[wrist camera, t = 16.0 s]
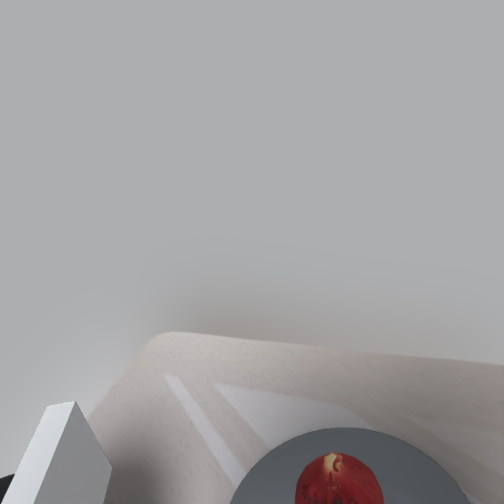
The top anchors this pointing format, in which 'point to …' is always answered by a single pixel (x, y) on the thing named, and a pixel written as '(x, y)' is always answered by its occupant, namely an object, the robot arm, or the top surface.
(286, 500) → the slate plate
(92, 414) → the top surface
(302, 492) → the red pomegranate
